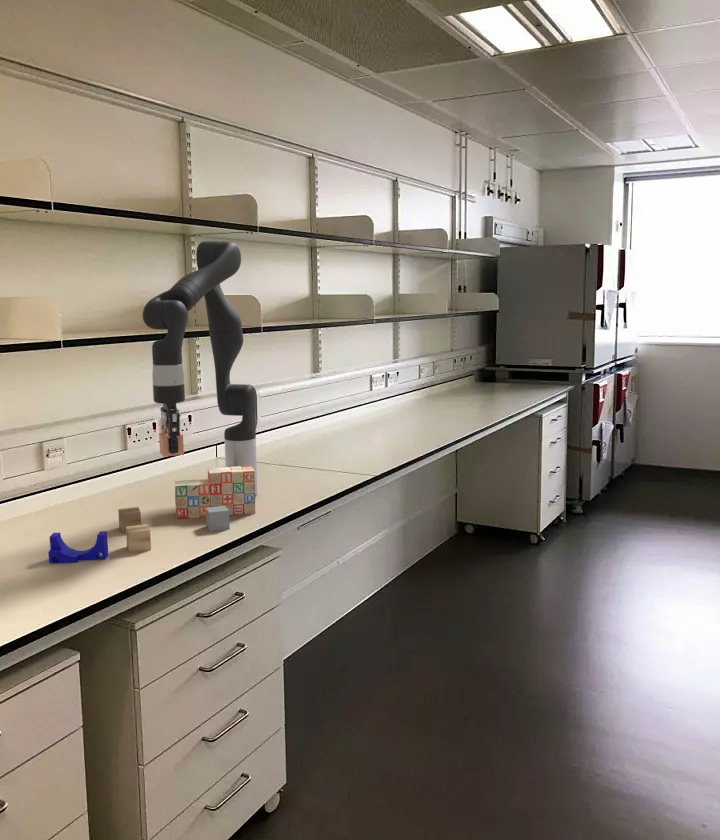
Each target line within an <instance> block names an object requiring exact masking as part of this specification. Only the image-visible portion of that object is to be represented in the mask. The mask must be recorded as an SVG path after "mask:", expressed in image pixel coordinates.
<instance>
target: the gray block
mask: <svg viewBox="0 0 720 840" xmlns="http://www.w3.org/2000/svg"><path fill="white" fill-rule="evenodd" d="M205 521H206V523H205V526H206V527H207V529H208V530H209V531H210V532H216V530H217V531H222V530H223V529H225V530H230V528H231V527H230V515H229V510H228V509H227V508H226V507H225V506H217V507H208V508H206V517H205ZM223 531H224V530H223Z"/></svg>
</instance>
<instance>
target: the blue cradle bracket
mask: <svg viewBox="0 0 720 840" xmlns="http://www.w3.org/2000/svg"><path fill="white" fill-rule="evenodd" d="M108 543H109V542H108V531H107V530H102V531H101V530H100V531H99V532H98V533H97V535H96V541H95V543H94V545H93V546H92V547H90V548H89V549H85V550H83V549H82V550H79V549H78V550H77V549H74V548H72V547H70V546H68V545H67V544H66V543H65V542H64V540H63V538H62V536H61V532H52V534H50V536H49V547H50V548H49V550H48V563H49V564H51V565H52V564H75V563H76V564H77V563H78V562H79V561H102V560H105V561H106V559H107V558H108V556H109V545H108Z"/></svg>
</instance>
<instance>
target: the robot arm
mask: <svg viewBox="0 0 720 840" xmlns="http://www.w3.org/2000/svg"><path fill="white" fill-rule="evenodd" d="M195 255H196V256H195V258H196V259H195V260H196V267H197V270H194V271H192V272H190V273H188V274H186V275H184V276H182V277H181V278H180V279H179V280H178V281H177V282H176V283H174V285H172V287H171V288H169V289H168V290H166V291H164V292H162V293H160V294H157V296H154V297H152V298H151V299H150V300H148V302H147V303H146V304H145V305H144V307H143V311H142V321H143V322H144V325H146V326H147V327H148V328H149V329H152V330H167V333H166V335H165V337H164V338H162V339H157V340H155V341H153V343H152V346H151V352H152V353H151V354H152V355H151V356H152V374H151V375H152V377H151V378H152V379H151V380H152V392H153V394H152V395H153V396H152V397H153V398H152V399H153V402H154V403H156V404H162V406H161V407H160V416H161V430H162V431H163V432H162V433H168V435H167V437H168V443H169V453H178V437H179V436H180V433H181V427H180V426H181V423H180V422H181V421H180V420H181V414H180V410H179V409H178V408H177V407H178V406H177V404H178V403H183V402H185V400H186V394H185V393H186V391H185V373H184V372H185V371H184V367H183V353H182V352H183V351H182V348H183V343H184V337H185V334H186V329H187V325H188V319H189V318H188V317H189V316H188V312H190V311H191V310H192V309H193V308H194V307H195V306H196V305H197V304H198V303H199V302H200V301H201V299H202V298H203V297H204V302H205V308H206V316H207V322H208V324H207V325H208V333H209V337H210V338H209V339H210V344H211V349H212V351H211V352H212V356H213V363H214V372H215V373H214V374H215V388H216V401H217V402H216V403H217V407H218V410H219V412H220V414H221V415H223V416H240V417H241V416H242V417H241V421H240V422H239V423H238V424H236V425H232V426H228V427H226V429H225V430H224V432H223V434H224V461H225V463H224V464H225V467H237V466H241V467H251V466H252V467H253V469H254V481H255V496H257V495H258V466H257V465H258V463H257V462H258V461H257V436H256V435H257V434H256V433H257V391H256V389H255V387H254V385H253V384H246V383H245V384H237V383H236V384H235V383H233V384H232V383H231V381H230V376H231V375H230V374H231V370H232V367H233V365H234V363H235V361H236V359H237V357H238V355H239V354H240V352H241V349H242V347H243V345H244V333H243V326H242V320H241V317H240V315H239V313H238V312H237V310H236V309H235V307H234V306H233V305H232V303H231V302H230V301H229V299H228V298H227V296H226V295H225V294H224V292H223V290H222V287H221V284H222V283H223V282H225V281H226V280H228V279H229V278H231V277H232V276H234V275H236V273H237V272H238V271H239V269H240V267H241V264H242V253H241V250H240V247H239V246H238V244H236V243H234V242H232V241H225V240H222V241H221V240H203V241H201V242H200V243H199V244H198V245H197V247H196V252H195Z"/></svg>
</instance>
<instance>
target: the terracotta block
mask: <svg viewBox="0 0 720 840" xmlns="http://www.w3.org/2000/svg"><path fill="white" fill-rule="evenodd" d="M167 435H168V433H163V432H160V433H158V436H159V437H158V439H159V453H160V455H161V456H162V457H174V456H175V457H177V456H183V455H185V450H184V434H183V433H182V432H180V436H179V437H178V453H169V443H168V437H167Z"/></svg>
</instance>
